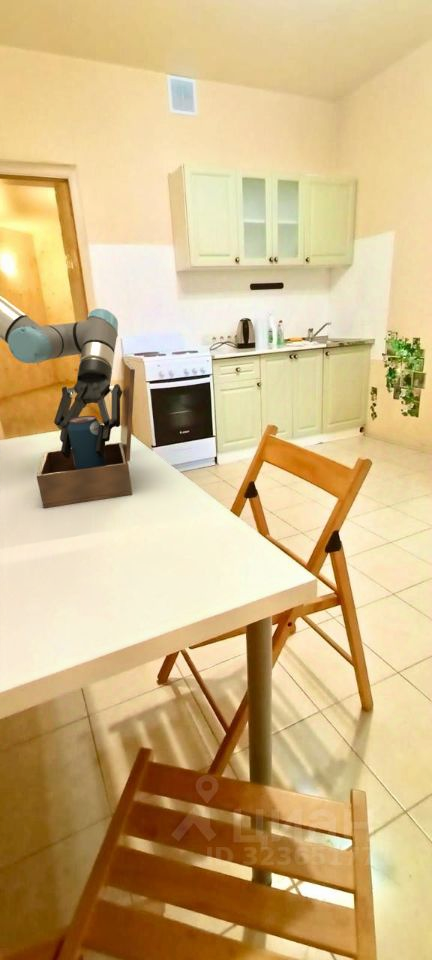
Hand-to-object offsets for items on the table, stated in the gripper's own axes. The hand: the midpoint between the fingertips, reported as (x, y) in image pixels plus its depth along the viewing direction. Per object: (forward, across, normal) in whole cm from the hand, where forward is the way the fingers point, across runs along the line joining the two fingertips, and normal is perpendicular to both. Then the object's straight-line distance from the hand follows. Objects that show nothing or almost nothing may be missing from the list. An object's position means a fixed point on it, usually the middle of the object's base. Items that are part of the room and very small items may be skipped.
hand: (82, 454), depth 96 cm
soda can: (+1, 0, -6) cm, 6 cm away
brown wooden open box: (+5, 0, -6) cm, 8 cm away
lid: (-9, -9, +3) cm, 13 cm away
